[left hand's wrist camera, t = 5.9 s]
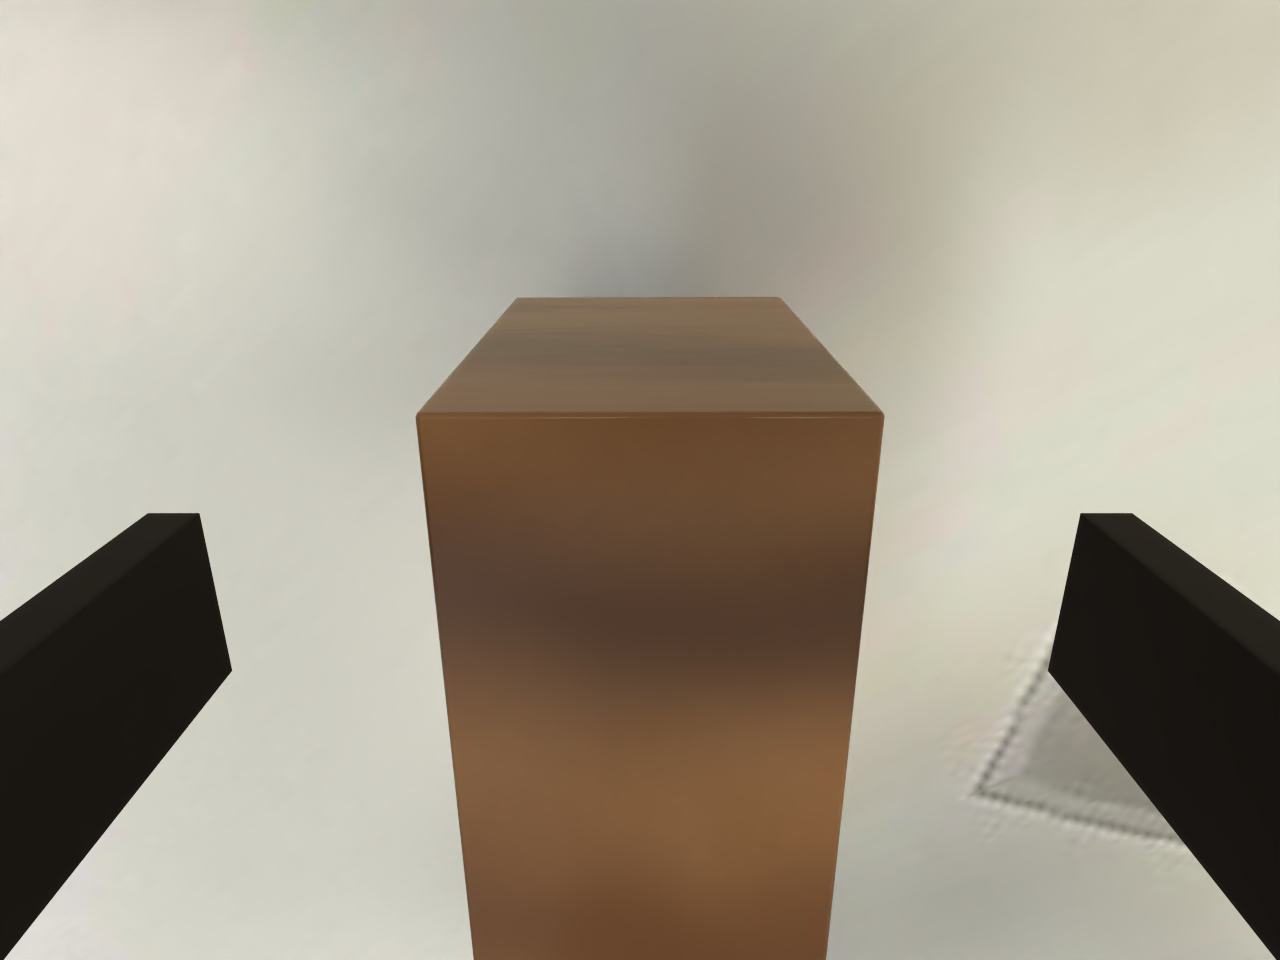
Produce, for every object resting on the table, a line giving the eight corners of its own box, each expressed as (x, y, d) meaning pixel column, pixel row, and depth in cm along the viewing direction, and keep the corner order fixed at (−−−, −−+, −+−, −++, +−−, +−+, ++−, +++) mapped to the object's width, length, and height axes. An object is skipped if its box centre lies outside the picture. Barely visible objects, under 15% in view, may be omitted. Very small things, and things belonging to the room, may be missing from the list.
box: (515, 297, 21) (414, 413, 12) (780, 296, 20) (886, 412, 11) (562, 1100, 32) (529, 1480, 23) (734, 1100, 32) (770, 1482, 23)
